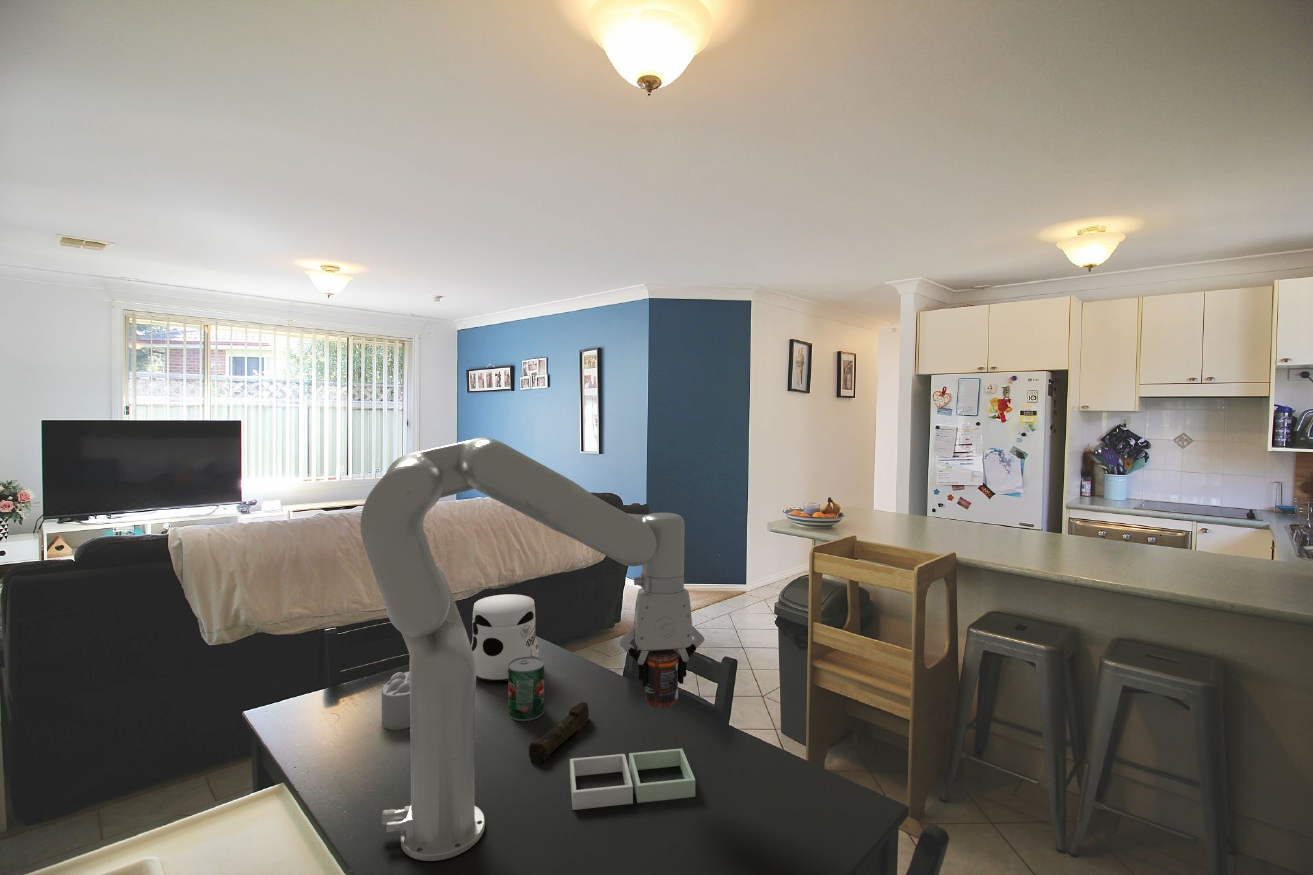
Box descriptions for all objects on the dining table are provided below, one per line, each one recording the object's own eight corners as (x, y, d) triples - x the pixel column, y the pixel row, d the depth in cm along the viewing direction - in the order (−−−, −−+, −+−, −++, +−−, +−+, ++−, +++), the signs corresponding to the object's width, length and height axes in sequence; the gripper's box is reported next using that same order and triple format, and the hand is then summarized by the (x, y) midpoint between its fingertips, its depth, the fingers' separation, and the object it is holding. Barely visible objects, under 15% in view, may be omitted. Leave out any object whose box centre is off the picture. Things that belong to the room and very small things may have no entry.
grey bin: (572, 809, 104) (572, 792, 104) (569, 774, 114) (569, 758, 114) (632, 803, 106) (632, 786, 106) (624, 769, 116) (624, 753, 116)
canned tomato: (550, 714, 136) (550, 665, 136) (516, 724, 132) (516, 674, 131) (535, 700, 143) (535, 653, 142) (502, 709, 138) (502, 661, 138)
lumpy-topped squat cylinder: (449, 706, 140) (449, 668, 139) (406, 734, 128) (406, 692, 127) (413, 697, 144) (413, 661, 143) (368, 724, 132) (368, 684, 131)
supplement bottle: (684, 701, 111) (685, 639, 111) (662, 713, 107) (663, 648, 107) (660, 690, 116) (661, 631, 115) (638, 701, 111) (638, 639, 111)
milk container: (552, 672, 158) (552, 603, 157) (492, 694, 146) (492, 619, 145) (514, 653, 170) (514, 589, 169) (455, 672, 158) (455, 602, 157)
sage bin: (637, 802, 106) (637, 785, 106) (629, 768, 116) (629, 753, 116) (695, 796, 108) (695, 779, 108) (681, 763, 118) (682, 748, 118)
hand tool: (544, 766, 117) (544, 742, 117) (527, 761, 119) (527, 737, 118) (598, 722, 134) (599, 701, 133) (583, 718, 135) (583, 697, 135)
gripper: (617, 591, 105) (616, 695, 106) (715, 586, 108) (713, 687, 109) (612, 579, 112) (611, 676, 113) (704, 575, 116) (702, 670, 116)
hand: (661, 680), depth 111 cm, fingers closed on supplement bottle, 6 cm apart
